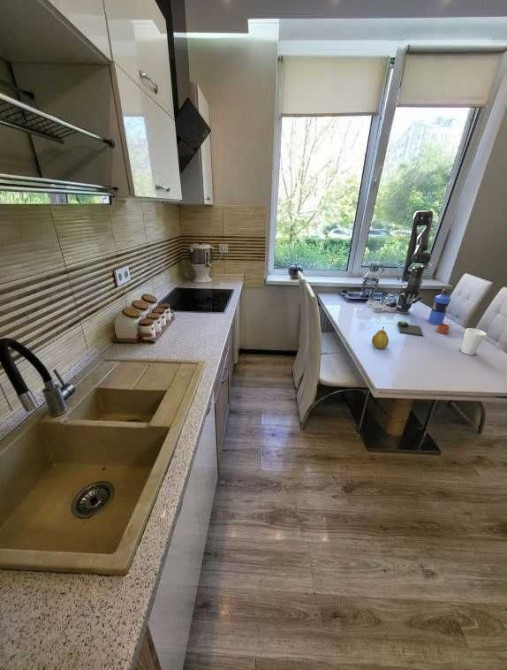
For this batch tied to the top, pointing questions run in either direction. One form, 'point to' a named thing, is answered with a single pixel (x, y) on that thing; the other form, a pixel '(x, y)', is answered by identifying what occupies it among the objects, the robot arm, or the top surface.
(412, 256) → the robot arm
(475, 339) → the foam cup
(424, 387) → the top surface
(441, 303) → the water bottle
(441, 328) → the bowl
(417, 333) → the scale
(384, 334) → the fruit
